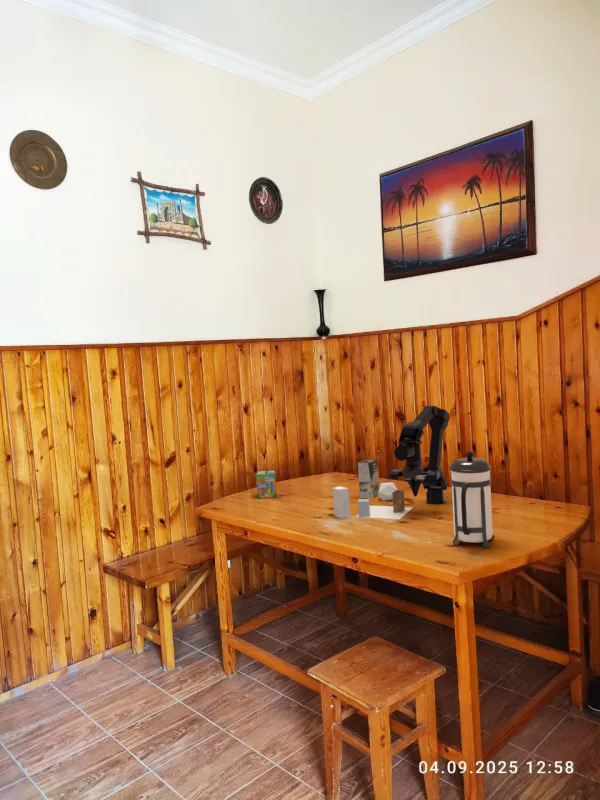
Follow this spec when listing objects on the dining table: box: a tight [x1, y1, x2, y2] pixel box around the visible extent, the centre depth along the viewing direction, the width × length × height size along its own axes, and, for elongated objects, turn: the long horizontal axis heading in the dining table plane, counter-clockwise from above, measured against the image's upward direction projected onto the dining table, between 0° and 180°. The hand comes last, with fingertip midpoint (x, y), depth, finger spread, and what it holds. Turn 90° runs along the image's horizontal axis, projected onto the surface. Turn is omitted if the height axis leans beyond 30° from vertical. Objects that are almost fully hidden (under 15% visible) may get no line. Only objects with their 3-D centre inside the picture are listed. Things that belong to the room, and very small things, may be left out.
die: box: [377, 481, 399, 502], centre depth 260 cm, size 8×9×10 cm
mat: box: [355, 505, 413, 520], centre depth 239 cm, size 18×18×1 cm
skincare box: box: [331, 486, 352, 520], centre depth 236 cm, size 6×4×12 cm
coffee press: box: [449, 450, 495, 549], centre depth 194 cm, size 17×16×30 cm
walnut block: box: [392, 489, 406, 513], centre depth 238 cm, size 3×5×8 cm, turn 154°
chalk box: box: [255, 464, 278, 499], centre depth 284 cm, size 9×9×15 cm
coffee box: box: [357, 458, 380, 499], centre depth 271 cm, size 9×6×16 cm
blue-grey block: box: [357, 498, 371, 518], centre depth 236 cm, size 4×4×6 cm
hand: (415, 496), depth 235 cm, fingers closed
